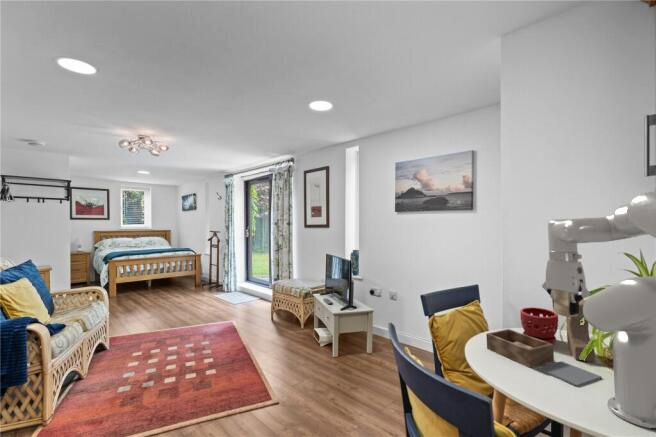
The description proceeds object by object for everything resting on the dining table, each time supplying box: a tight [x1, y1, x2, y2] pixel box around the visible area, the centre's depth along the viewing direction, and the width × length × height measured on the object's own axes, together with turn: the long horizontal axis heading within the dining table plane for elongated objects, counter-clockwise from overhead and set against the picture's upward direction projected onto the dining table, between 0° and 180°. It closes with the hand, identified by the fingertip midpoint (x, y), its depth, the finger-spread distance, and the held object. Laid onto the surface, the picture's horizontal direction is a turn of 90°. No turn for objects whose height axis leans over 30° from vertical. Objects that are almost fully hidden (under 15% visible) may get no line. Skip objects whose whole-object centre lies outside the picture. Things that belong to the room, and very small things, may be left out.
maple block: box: [553, 289, 578, 318], centre depth 103 cm, size 4×4×8 cm
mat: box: [537, 360, 603, 388], centre depth 103 cm, size 12×12×1 cm
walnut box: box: [486, 328, 555, 369], centre depth 118 cm, size 18×12×6 cm, turn 21°
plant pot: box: [519, 307, 559, 344], centre depth 131 cm, size 13×13×12 cm
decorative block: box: [565, 299, 596, 363], centre depth 116 cm, size 11×6×20 cm, turn 154°
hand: (565, 311), depth 103 cm, fingers closed on maple block, 4 cm apart
